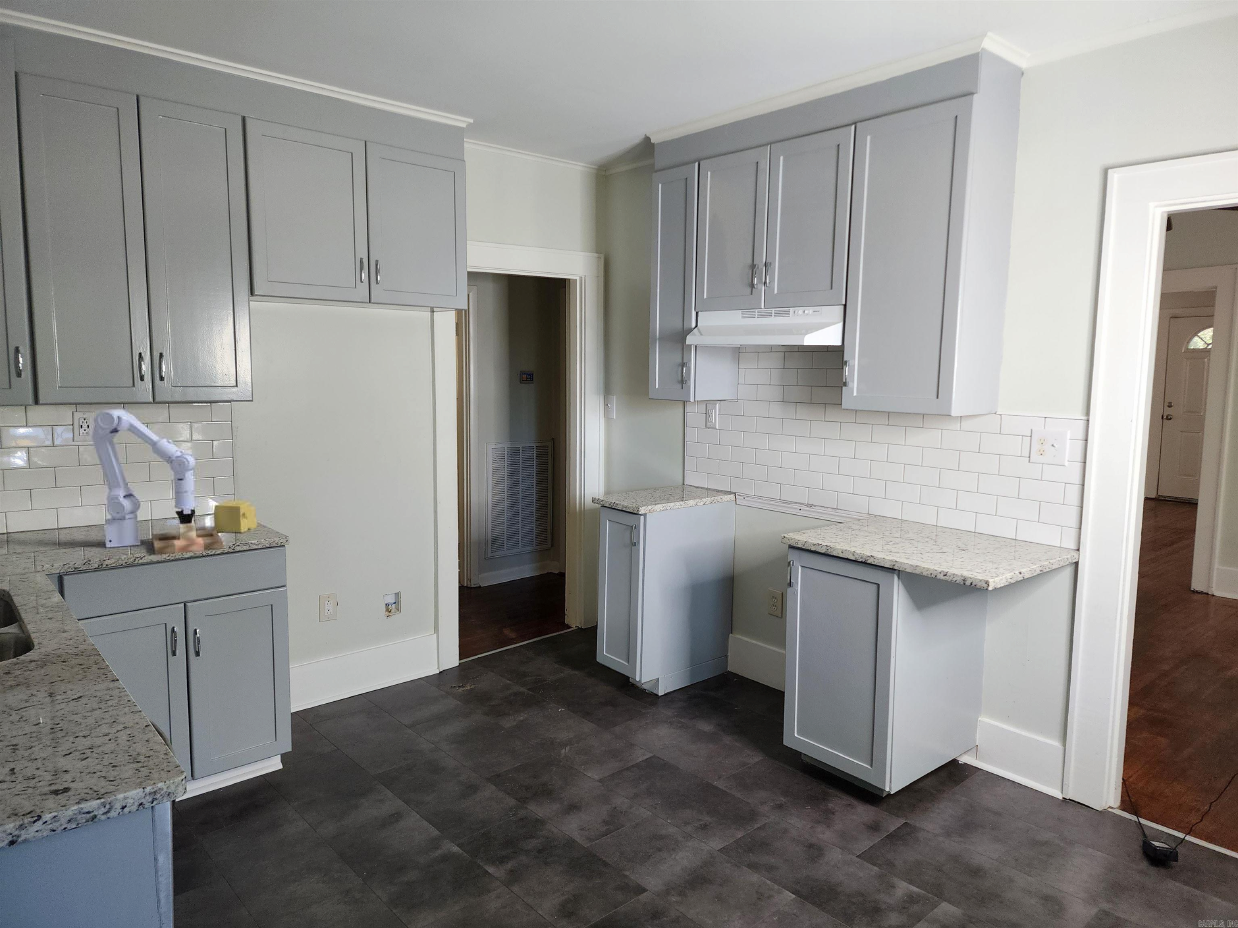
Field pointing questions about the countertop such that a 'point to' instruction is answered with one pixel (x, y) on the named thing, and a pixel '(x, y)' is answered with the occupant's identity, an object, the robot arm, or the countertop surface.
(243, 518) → the cheese
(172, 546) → the trap deck
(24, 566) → the countertop surface
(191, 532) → the block
